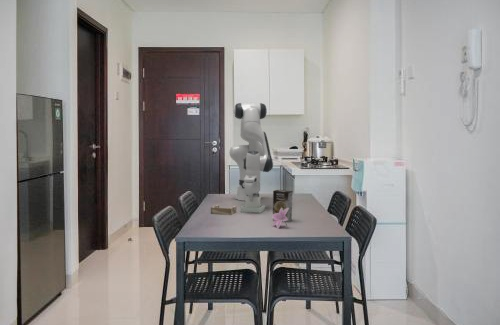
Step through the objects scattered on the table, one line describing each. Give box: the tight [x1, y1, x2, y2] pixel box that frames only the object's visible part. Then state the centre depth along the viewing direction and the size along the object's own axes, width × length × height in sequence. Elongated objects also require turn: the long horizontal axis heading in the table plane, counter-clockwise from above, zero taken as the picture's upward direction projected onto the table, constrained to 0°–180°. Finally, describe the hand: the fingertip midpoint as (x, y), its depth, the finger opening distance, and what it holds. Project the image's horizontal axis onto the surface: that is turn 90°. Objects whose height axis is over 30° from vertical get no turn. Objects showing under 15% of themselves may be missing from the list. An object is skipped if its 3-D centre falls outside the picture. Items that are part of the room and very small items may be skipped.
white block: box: [244, 193, 261, 208], centre depth 252 cm, size 5×8×9 cm, turn 73°
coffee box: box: [272, 189, 293, 223], centre depth 226 cm, size 9×6×16 cm
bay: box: [210, 204, 237, 216], centre depth 247 cm, size 10×12×4 cm
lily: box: [271, 208, 289, 230], centre depth 211 cm, size 12×12×10 cm
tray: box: [240, 204, 266, 214], centre depth 253 cm, size 10×12×3 cm
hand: (252, 200), depth 252 cm, fingers closed on white block, 5 cm apart
